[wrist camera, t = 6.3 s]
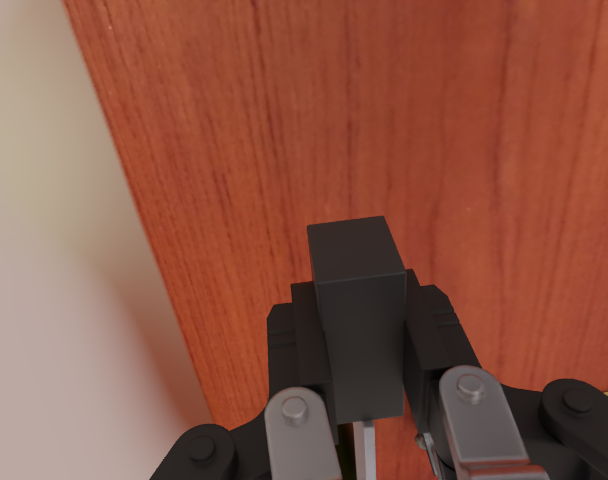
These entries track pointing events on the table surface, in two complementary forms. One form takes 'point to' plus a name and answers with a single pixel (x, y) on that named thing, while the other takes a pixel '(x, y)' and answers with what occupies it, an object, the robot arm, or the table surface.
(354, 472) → the guarana soda can
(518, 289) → the table surface
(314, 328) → the robot arm
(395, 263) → the knife
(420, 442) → the lighter
